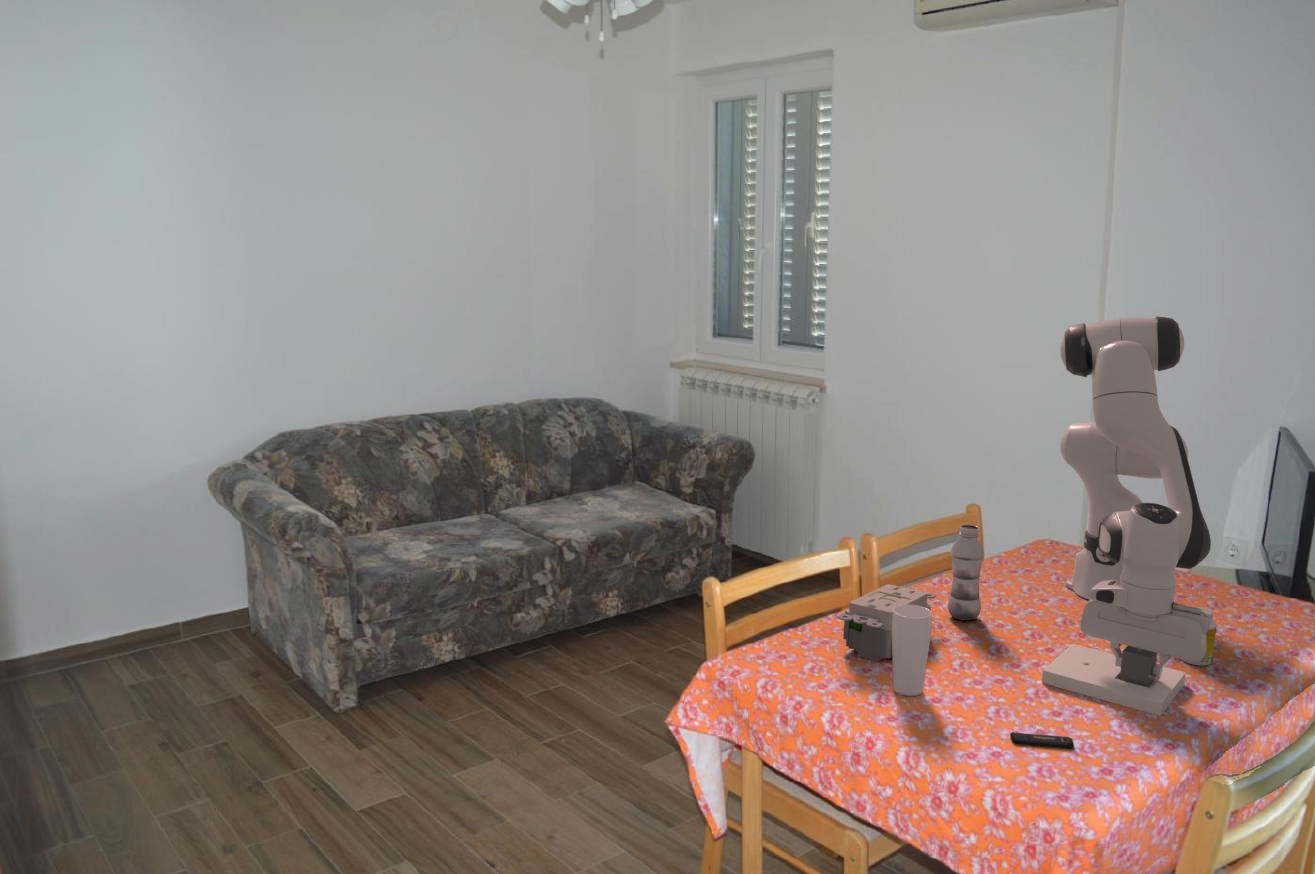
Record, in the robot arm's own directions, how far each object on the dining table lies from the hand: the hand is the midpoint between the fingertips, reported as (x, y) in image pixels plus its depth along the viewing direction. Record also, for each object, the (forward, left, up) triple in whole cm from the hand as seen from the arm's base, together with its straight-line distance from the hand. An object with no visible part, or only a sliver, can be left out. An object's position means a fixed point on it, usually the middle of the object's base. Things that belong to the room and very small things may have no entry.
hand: (1138, 670), depth 181 cm
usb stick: (+31, -6, -4) cm, 31 cm away
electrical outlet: (+10, -44, -4) cm, 45 cm away
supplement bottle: (-21, +5, -4) cm, 22 cm away
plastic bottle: (-13, -38, -4) cm, 40 cm away
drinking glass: (+27, -31, -4) cm, 41 cm away
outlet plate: (0, -4, -4) cm, 5 cm away
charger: (0, 0, -2) cm, 2 cm away
